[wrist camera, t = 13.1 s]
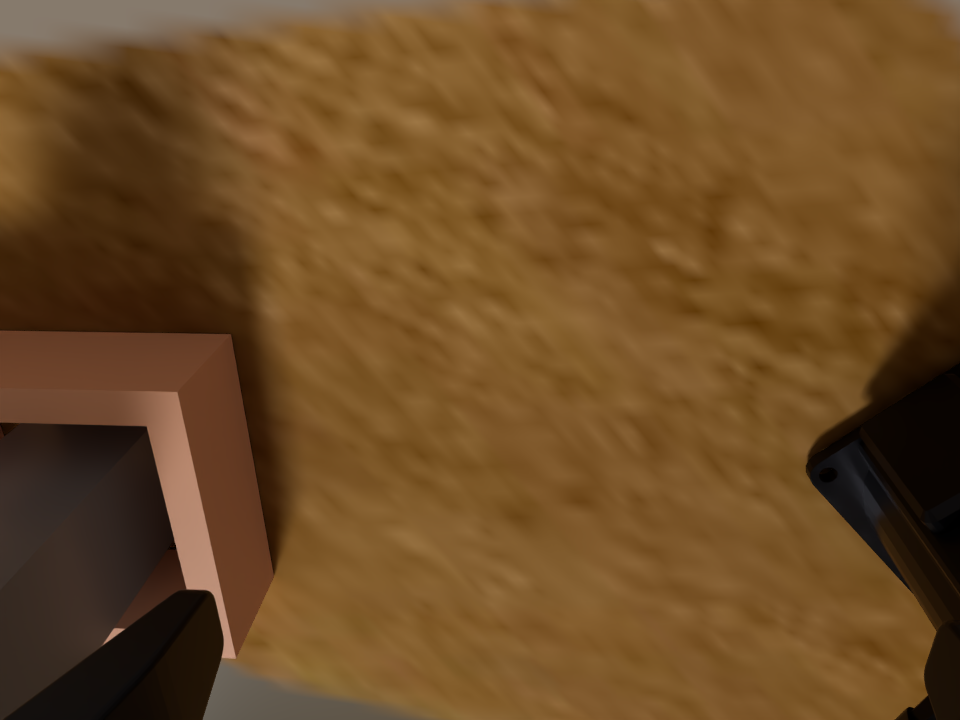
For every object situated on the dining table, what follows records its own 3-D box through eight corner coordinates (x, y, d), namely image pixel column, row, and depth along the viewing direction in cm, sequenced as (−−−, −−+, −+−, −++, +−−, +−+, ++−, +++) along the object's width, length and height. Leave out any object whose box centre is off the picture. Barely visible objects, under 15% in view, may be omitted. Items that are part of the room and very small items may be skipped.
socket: (230, 334, 21) (177, 391, 18) (273, 576, 25) (235, 658, 22) (-65, 329, 22) (-166, 384, 19) (22, 566, 26) (-50, 644, 23)
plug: (166, 408, 23) (-123, 724, 13) (190, 515, 24) (-47, 864, 15) (41, 406, 23) (-335, 712, 13) (74, 511, 25) (-236, 851, 15)
